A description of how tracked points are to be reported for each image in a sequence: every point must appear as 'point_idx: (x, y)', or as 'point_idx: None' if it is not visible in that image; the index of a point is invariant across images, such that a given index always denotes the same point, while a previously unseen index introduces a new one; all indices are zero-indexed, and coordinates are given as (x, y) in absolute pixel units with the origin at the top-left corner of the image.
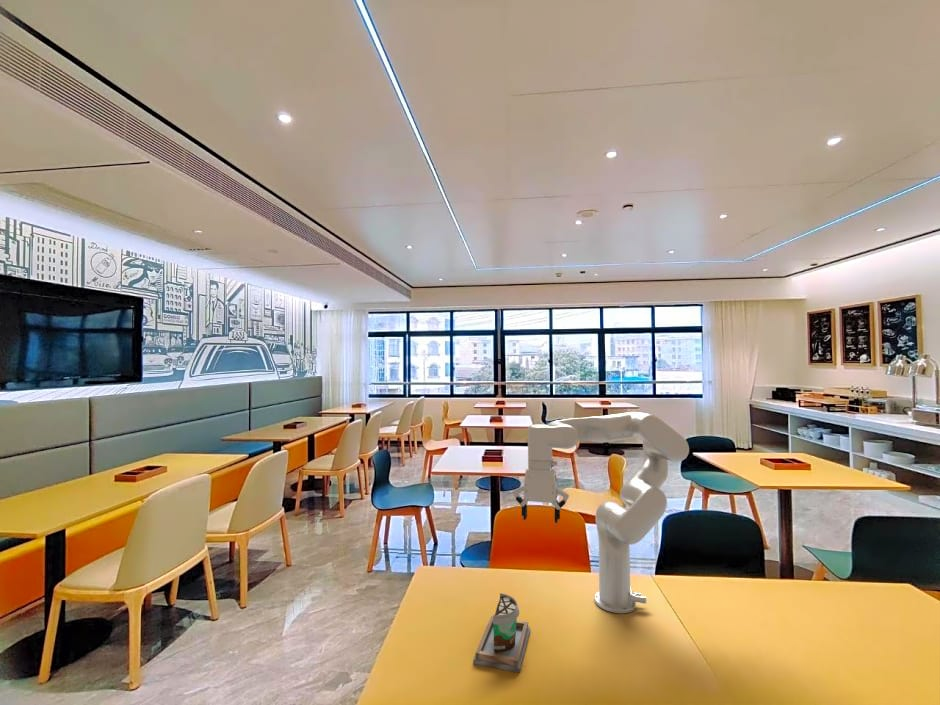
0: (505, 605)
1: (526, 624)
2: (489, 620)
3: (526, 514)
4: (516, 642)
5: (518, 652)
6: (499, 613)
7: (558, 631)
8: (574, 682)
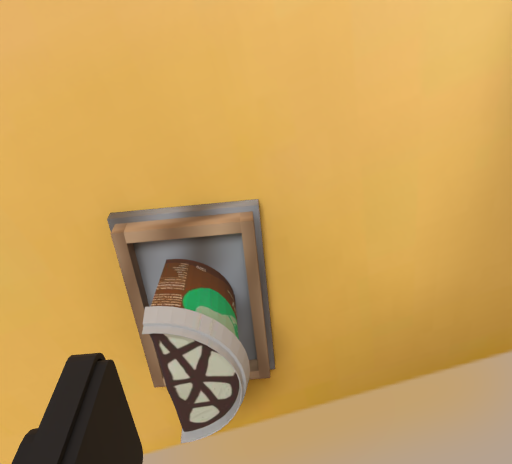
0: (192, 370)
1: (250, 233)
2: (118, 257)
3: (115, 456)
4: (237, 289)
5: (262, 353)
6: (190, 409)
7: (356, 168)
8: (408, 345)
